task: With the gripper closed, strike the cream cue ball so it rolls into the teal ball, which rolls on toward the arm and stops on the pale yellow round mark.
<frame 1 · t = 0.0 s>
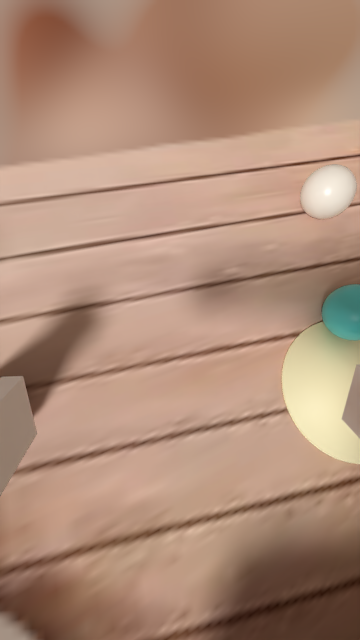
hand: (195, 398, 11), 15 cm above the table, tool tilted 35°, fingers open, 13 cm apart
cue ball: (327, 192, 29), on the table
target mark: (349, 386, 26), on the table
teal ball: (353, 312, 26), on the table
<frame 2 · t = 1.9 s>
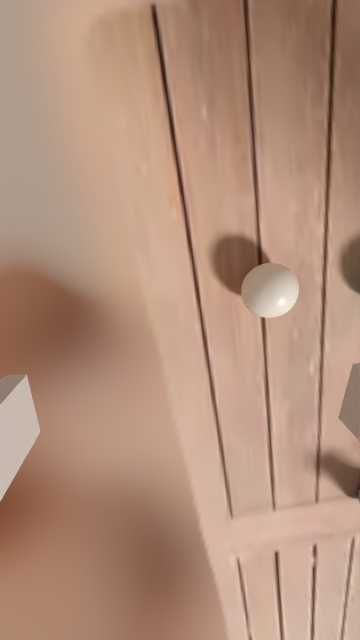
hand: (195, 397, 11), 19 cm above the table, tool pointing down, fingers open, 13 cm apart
cue ball: (268, 290, 26), on the table
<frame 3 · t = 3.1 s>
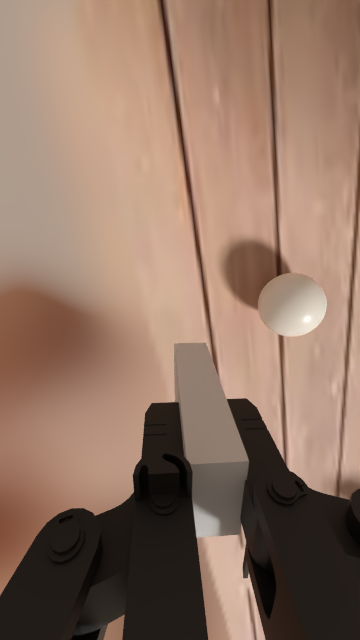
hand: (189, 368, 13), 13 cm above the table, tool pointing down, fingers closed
cue ball: (290, 304, 23), on the table
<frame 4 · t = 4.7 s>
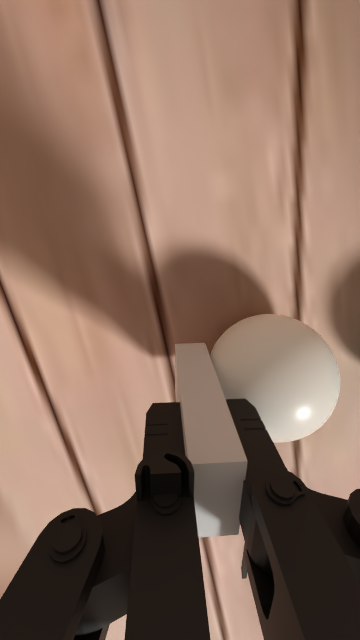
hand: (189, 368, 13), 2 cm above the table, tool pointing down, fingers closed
cue ball: (268, 375, 12), on the table, touching gripper
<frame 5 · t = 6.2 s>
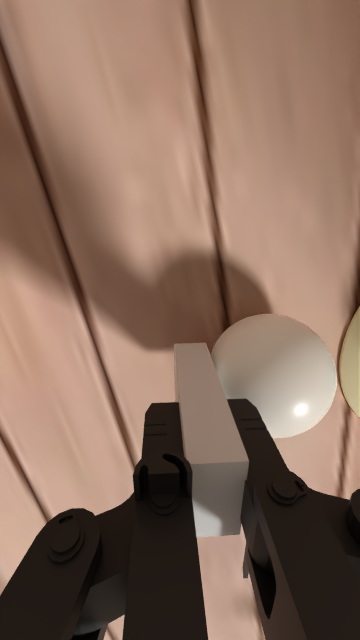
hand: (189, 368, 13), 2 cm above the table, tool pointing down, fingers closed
cue ball: (267, 373, 12), on the table
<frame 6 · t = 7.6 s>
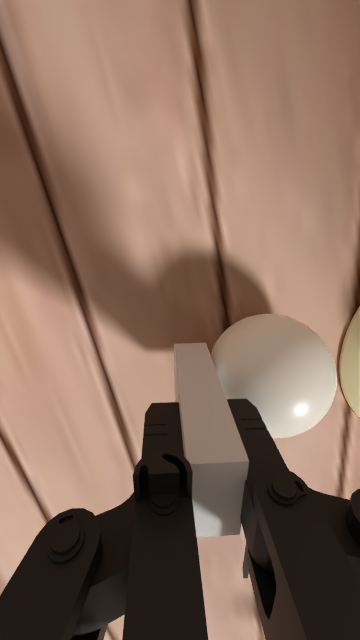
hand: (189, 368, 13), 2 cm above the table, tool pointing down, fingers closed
cue ball: (267, 373, 12), on the table
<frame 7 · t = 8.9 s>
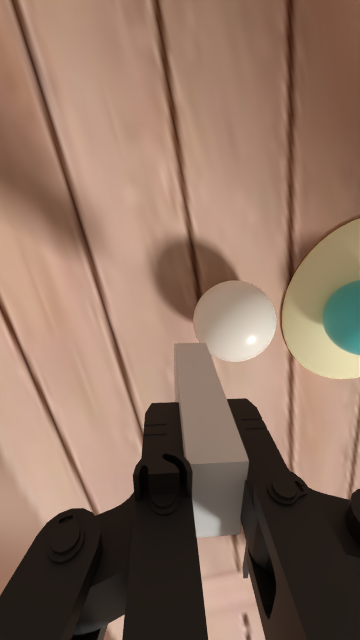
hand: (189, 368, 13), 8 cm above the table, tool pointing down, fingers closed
cue ball: (233, 321, 18), on the table
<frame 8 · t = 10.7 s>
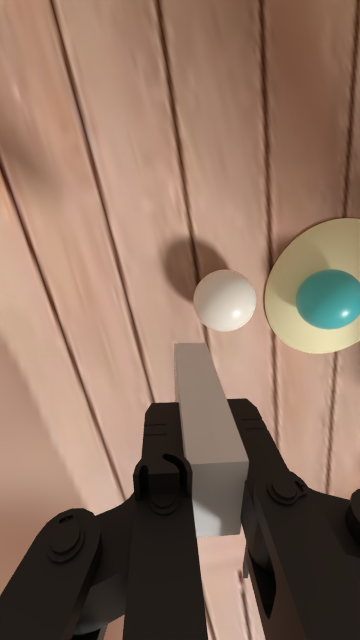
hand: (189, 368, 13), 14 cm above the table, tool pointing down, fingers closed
cue ball: (224, 300, 23), on the table
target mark: (331, 291, 27), on the table
teal ball: (328, 299, 24), on the table
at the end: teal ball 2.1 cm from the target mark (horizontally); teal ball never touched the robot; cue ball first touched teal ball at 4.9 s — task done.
